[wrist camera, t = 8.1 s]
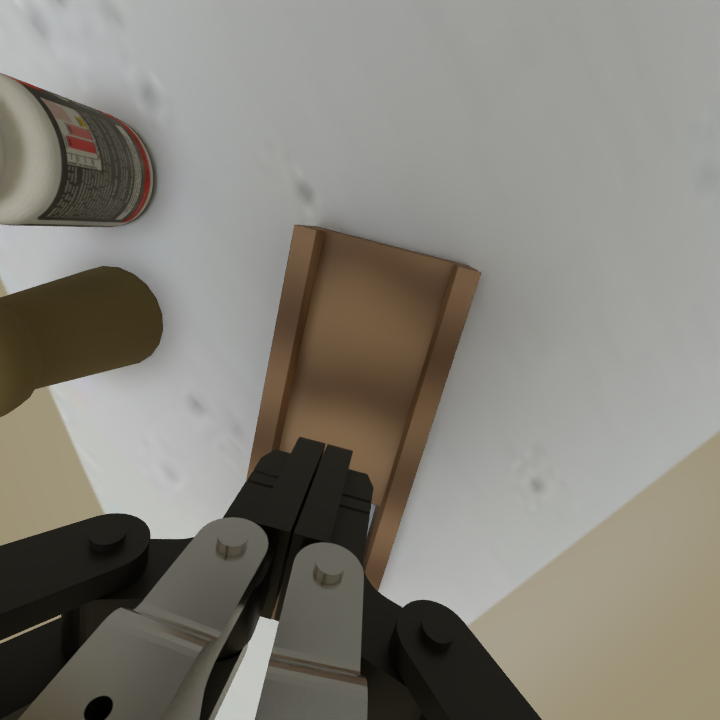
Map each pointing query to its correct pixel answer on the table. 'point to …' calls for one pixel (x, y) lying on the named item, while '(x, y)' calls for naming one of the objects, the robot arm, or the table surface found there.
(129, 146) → the pill bottle
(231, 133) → the table surface
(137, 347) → the pepper mill
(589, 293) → the table surface
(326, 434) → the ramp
